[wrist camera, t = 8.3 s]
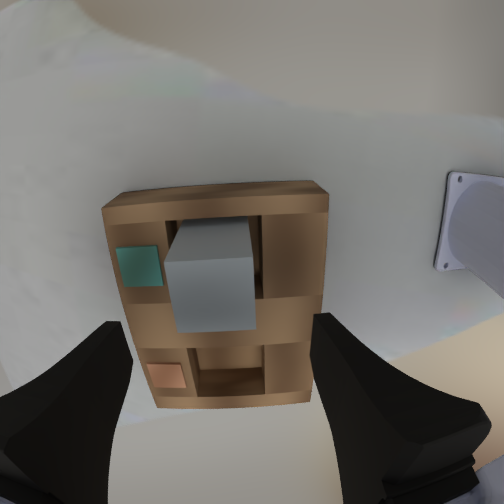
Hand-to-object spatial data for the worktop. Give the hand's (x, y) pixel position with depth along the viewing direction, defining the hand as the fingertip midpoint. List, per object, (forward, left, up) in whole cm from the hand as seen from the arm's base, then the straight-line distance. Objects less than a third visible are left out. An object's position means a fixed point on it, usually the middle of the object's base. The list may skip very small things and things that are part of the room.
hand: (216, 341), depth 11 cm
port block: (0, +4, -10) cm, 11 cm away
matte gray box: (0, 0, -9) cm, 9 cm away
